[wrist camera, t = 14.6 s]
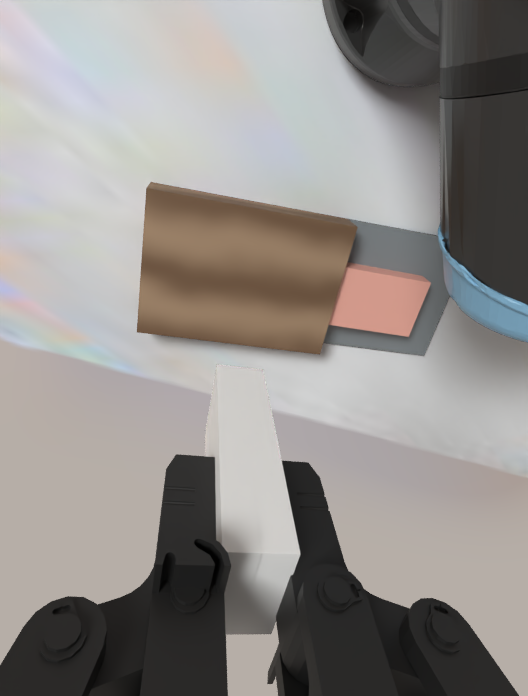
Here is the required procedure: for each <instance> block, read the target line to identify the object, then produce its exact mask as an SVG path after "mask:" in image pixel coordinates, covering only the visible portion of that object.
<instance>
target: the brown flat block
mask: <svg viewBox="0 0 528 696" xmlns="http://www.w3.org/2000/svg"><path fill="white" fill-rule="evenodd" d="M357 228H358V227H357V226H356V225H355V224H354V223H352V222H351V221H350V220H349V219H345V218H340V217H334V216H329V215H324V214H318V213H313V212H308V211H302V210H297V209H292V208H286V207H281V206H276V205H270V204H265V203H260V202H254V201H249V200H244V199H238V198H233V197H228V196H222V195H217V194H211V193H206V192H201V191H195V190H190V189H185V188H179V187H174V186H169V185H163V184H158V183H153V182H151V183H150V184H149V185H148V187H147V189H146V204H145V219H144V234H143V248H142V263H141V278H140V293H139V308H138V323H137V332H140V333H148V334H157V335H165V336H173V337H181V338H189V339H198V340H206V341H214V342H222V343H230V344H239V345H247V346H255V347H263V348H272V349H280V350H288V351H296V352H304V353H313V354H320V352H321V348H322V345H323V342H324V338H325V335H326V332H327V328H328V325H329V322H330V318H331V315H332V312H333V308H334V305H335V302H336V298H337V295H338V292H339V288H340V285H341V282H342V278H343V275H344V272H345V268H346V265H347V261H348V258H349V255H350V251H351V248H352V245H353V241H354V238H355V235H356V231H357Z"/></svg>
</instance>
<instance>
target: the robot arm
mask: <svg viewBox="0 0 528 696" xmlns="http://www.w3.org/2000/svg"><path fill="white" fill-rule="evenodd" d="M322 1H323V6H324V10H325V15H326V18H327V21H328V24H329V27H330V29H331V32H332V34H333V36H334V38H335V40H336V42H337V44H338V46H339V47H340V49H341V50H342V52H343V53H344V55H345V56H346V57H347V58H348V60H349V61H350V62H351V63H352V64H353V65H354V66H355V67H356V68H357V69H359V70H360V71H361V72H362V73H364V74H365V75H367V76H368V77H370V78H372V79H374V80H376V81H378V82H381V83H384V84H387V85H392V86H399V87H411V86H423V85H429V84H434V83H438V82H440V226H439V229H438V241H439V245H440V248H441V250H442V254H443V269H444V281H445V285H446V288H447V291H448V293H449V295H450V296H451V297H452V298H453V299H454V300H455V301H456V303H457V305H458V306H459V307H460V309H461V310H462V311H463V312H464V313H465V314H466V315H468V316H469V317H470V318H472V319H473V320H474V321H476V322H477V323H479V324H481V325H483V326H484V327H486V328H488V329H490V330H492V331H495V332H497V333H499V334H502V335H505V336H507V337H510V338H513V339H516V340H520V341H523V342H527V343H528V0H322ZM275 622H277V630H278V637H279V645H278V648H277V650H276V653H275V656H274V658H273V661H272V663H271V666H270V668H269V671H268V684H272V683H273V681H274V679H275V677H276V680H277V688H278V696H519V695H518V694H517V692H516V691H515V689H514V688H513V686H512V685H511V683H510V682H509V681H508V679H507V678H506V676H505V675H504V674H503V672H502V671H501V669H500V668H499V666H498V665H497V664H496V662H495V661H494V659H493V658H492V657H491V655H490V654H489V652H488V651H487V649H486V648H485V647H484V645H483V644H482V642H481V641H480V639H479V638H478V637H477V635H476V634H475V632H474V631H473V629H472V628H471V627H470V625H469V624H468V623H467V621H466V620H464V618H463V617H462V616H461V615H460V614H459V613H458V611H456V610H455V609H453V608H452V607H450V606H449V605H447V604H446V603H444V602H442V601H439V600H436V599H433V598H426V599H425V598H424V599H420V600H418V601H417V602H415V603H413V605H412V606H411V608H410V609H409V608H406V607H403V606H400V605H398V604H395V603H392V602H389V601H386V600H383V599H381V598H379V597H376V596H374V595H372V594H370V593H369V592H367V591H366V590H364V589H363V587H362V585H361V583H360V582H359V581H358V580H357V579H356V577H355V576H354V575H353V574H352V573H351V572H349V571H348V569H347V567H346V565H345V562H344V559H343V555H342V552H341V548H340V545H339V542H338V538H337V535H336V531H335V528H334V525H333V521H332V518H331V514H330V511H328V505H327V501H326V497H324V491H323V487H322V484H321V480H320V477H319V476H318V475H317V474H316V472H315V471H314V470H313V468H312V467H311V466H310V464H309V463H306V462H291V461H282V460H281V456H280V451H279V445H278V440H277V435H276V430H275V425H274V421H273V415H272V410H271V405H270V401H269V396H268V391H267V386H266V381H265V376H264V371H263V369H254V368H245V367H237V366H228V365H219V364H217V366H216V372H215V378H214V384H213V390H212V395H211V402H210V408H209V413H208V419H207V425H206V430H205V457H204V456H191V455H176V456H175V457H174V459H173V460H172V461H171V463H170V464H169V466H168V467H167V469H166V476H165V484H164V492H163V500H162V508H161V516H160V525H159V533H158V542H157V550H156V559H155V563H154V568H153V570H152V571H151V573H150V575H149V577H148V578H147V579H146V580H145V582H144V583H143V584H142V585H141V586H140V587H138V588H137V589H135V590H134V591H133V592H132V593H129V594H127V595H125V596H123V597H120V598H117V599H114V600H111V601H108V602H105V603H101V604H98V605H97V604H96V603H94V602H92V601H90V600H88V599H86V598H84V597H69V596H68V597H65V598H61V599H58V600H55V601H52V602H50V603H48V604H47V605H46V606H44V607H43V608H41V609H40V610H38V611H37V612H35V614H34V615H33V616H32V617H31V619H30V620H29V621H28V622H27V623H26V625H25V626H24V627H23V629H22V630H21V632H20V634H19V635H18V637H17V639H16V641H15V642H14V644H13V645H12V647H11V649H10V650H9V652H8V654H7V655H6V657H5V658H4V660H3V662H2V663H1V665H0V696H228V690H227V665H226V664H227V660H226V634H271V633H272V630H273V628H274V625H275Z"/></svg>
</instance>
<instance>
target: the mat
mask: <svg viewBox="0 0 528 696" xmlns="http://www.w3.org/2000/svg"><path fill="white" fill-rule="evenodd" d="M349 220H350V219H349ZM350 221H351V222H352V223H354V224H355V225H356V226H357V227H358V228H357V231H356V235H355V238H354V241H353V245H352V248H351V251H350V255H349V258H348V261H347V262H349V263H355V264H360V265H366V266H371V267H377V268H382V269H388V270H393V271H399V272H404V273H410V274H415V275H421V276H423V277H424V278H426V279H427V280H428V281H429V282H431V284H430V287H429V289H428V292H427V294H426V296H425V299H424V301H423V304H422V306H421V308H420V311H419V313H418V316H417V318H416V320H415V323H414V325H413V327H412V330H411V332H410V335H409V337H407V336H400V335H393V334H387V333H380V332H373V331H367V330H360V329H353V328H347V327H340V326H334V325H328V328H327V332H326V335H325V338H324V342H323V343H329V344H337V345H344V346H352V347H360V348H368V349H376V350H384V351H392V352H399V353H407V354H415V355H423V356H424V355H425V352H426V350H427V348H428V345H429V343H430V341H431V338H432V336H433V334H434V331H435V329H436V327H437V325H438V322H439V320H440V318H441V315H442V313H443V311H444V308H445V306H446V304H447V301H448V299H449V297H450V295H449V293H448V291H447V288H446V285H445V281H444V269H443V254H442V250H441V248H440V245H439V241H438V236H436V235H431V234H425V233H420V232H415V231H409V230H404V229H399V228H393V227H388V226H382V225H377V224H372V223H366V222H361V221H356V220H350Z"/></svg>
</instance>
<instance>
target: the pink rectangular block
mask: <svg viewBox="0 0 528 696" xmlns="http://www.w3.org/2000/svg"><path fill="white" fill-rule="evenodd" d="M430 284H431V282H429V281H428V280H427V279H426V278H424V277H423V276H421V275H415V274H410V273H404V272H399V271H393V270H388V269H382V268H377V267H371V266H366V265H360V264H355V263H349V262H347V265H346V268H345V272H344V275H343V278H342V282H341V285H340V288H339V292H338V295H337V298H336V302H335V305H334V308H333V312H332V315H331V318H330V322H329V325H334V326H340V327H347V328H353V329H360V330H367V331H373V332H380V333H387V334H393V335H400V336H407V337H409V335H410V332H411V330H412V327H413V325H414V323H415V320H416V318H417V316H418V313H419V311H420V308H421V306H422V304H423V301H424V299H425V296H426V294H427V292H428V289H429V287H430Z"/></svg>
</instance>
